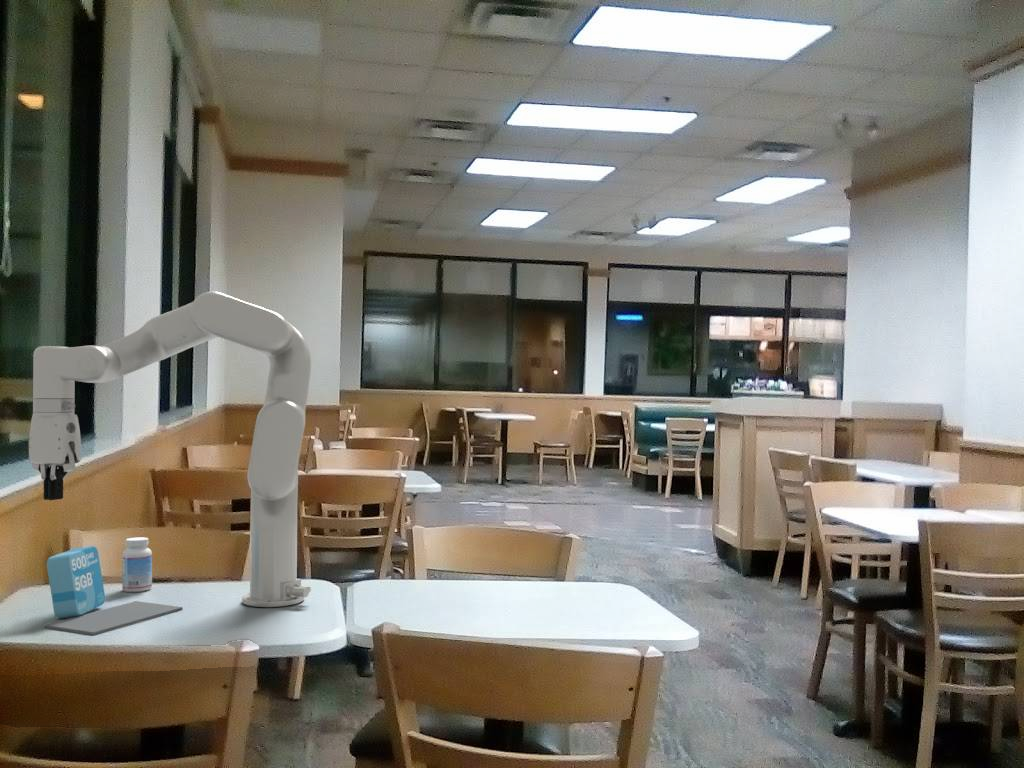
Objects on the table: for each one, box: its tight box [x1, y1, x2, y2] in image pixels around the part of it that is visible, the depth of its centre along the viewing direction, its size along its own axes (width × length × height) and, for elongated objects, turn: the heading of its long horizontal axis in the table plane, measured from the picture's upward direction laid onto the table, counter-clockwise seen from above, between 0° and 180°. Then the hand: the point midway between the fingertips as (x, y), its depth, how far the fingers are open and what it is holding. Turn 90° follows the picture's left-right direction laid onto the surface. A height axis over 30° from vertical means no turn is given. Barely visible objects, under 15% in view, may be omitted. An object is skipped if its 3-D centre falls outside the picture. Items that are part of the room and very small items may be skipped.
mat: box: [44, 600, 183, 636], centre depth 187 cm, size 12×22×1 cm, turn 155°
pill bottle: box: [121, 536, 153, 593], centre depth 213 cm, size 6×6×11 cm
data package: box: [46, 545, 106, 619], centre depth 191 cm, size 12×4×12 cm, turn 178°
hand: (53, 499), depth 194 cm, fingers closed
